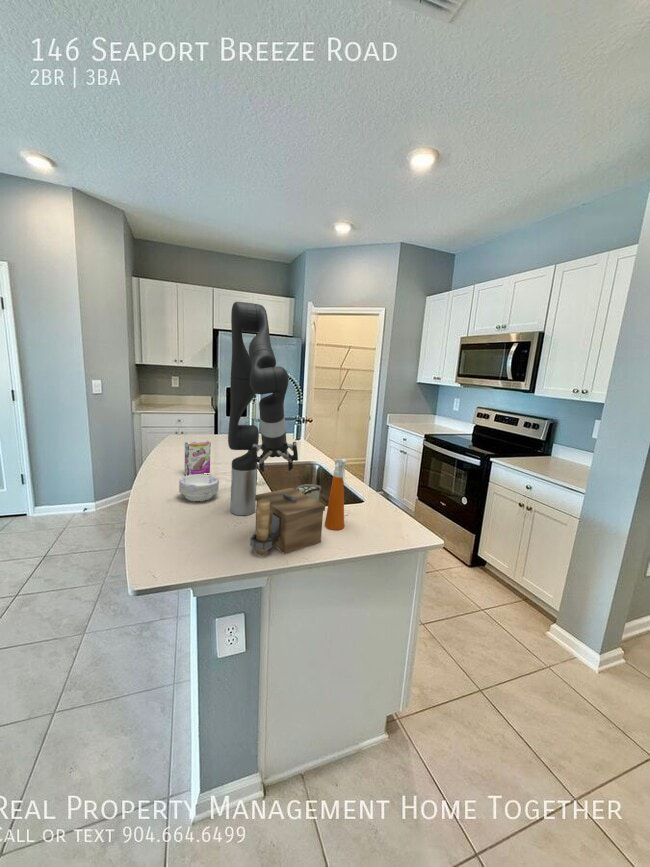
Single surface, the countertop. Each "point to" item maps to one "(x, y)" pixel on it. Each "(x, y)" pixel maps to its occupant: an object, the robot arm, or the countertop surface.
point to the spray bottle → (336, 498)
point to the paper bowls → (198, 487)
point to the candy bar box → (197, 457)
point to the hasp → (272, 537)
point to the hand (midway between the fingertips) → (276, 469)
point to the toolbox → (294, 518)
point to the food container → (310, 490)
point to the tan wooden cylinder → (262, 523)
